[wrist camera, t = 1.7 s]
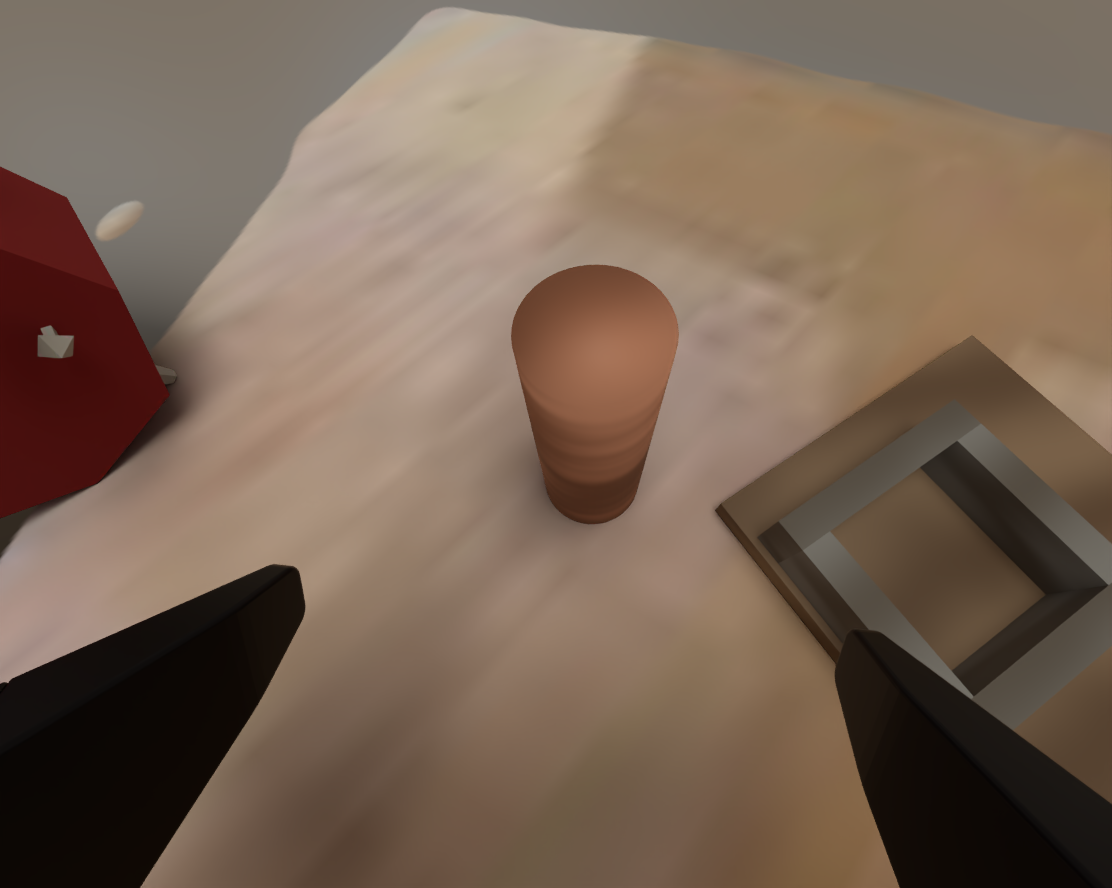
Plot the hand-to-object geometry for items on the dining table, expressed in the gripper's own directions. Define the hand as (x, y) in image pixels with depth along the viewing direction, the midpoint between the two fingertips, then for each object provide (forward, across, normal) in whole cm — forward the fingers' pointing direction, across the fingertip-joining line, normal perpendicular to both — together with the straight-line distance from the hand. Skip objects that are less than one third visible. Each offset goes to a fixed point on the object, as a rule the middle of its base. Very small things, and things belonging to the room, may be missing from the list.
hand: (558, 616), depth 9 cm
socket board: (+12, -15, +6) cm, 20 cm away
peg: (+14, 0, +4) cm, 14 cm away
